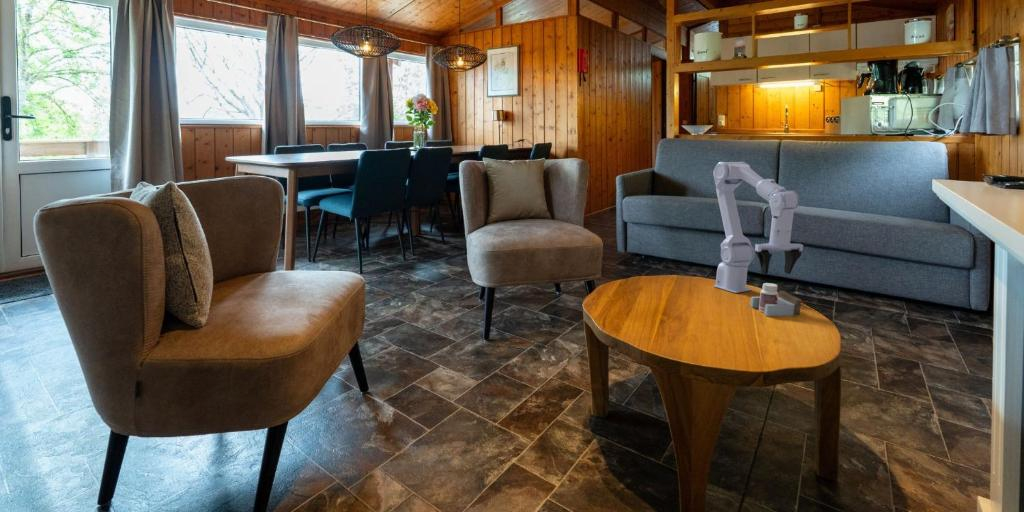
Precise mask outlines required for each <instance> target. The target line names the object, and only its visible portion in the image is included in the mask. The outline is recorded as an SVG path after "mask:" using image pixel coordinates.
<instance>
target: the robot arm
mask: <svg viewBox="0 0 1024 512" xmlns="http://www.w3.org/2000/svg"><path fill="white" fill-rule="evenodd" d="M712 174H713V179H714V185H715V192H716V196H717V201H718V206H719V210H720V216H721V219H722V221H721V222H722V224H723V231H724V233H725V239H723V241H722V242H721V243H720V258H721V262H719V264H718V266H717V269H716V277H715V278H716V279H715V284H714V285H713V287H715V288H718V289H721V290H724V291H727V292H731V293H734V294H737V293H743V292H748V291H752V288H751V287H750V288H749V287H747V278H748V277H747V276H748V268H749V266H750V265H751V262H752V261H754V258H755V254H756V256H757V258H758V261H759V264H760V269H761V270H760V271H761V274H763V275H768V273H769V267H770V266H769V265H770V262H771V258H772V256H773V254H772V253H770V252H777V251H778V252H780V251H781V252H782V251H783V252H784V259H785V261H784V273H785V274H788V275H791V273H792V271H793V268H794V266H795V264H796V262H797V261H798V259H799V258H800V257H801V256H802V252H803V251H804V245H803V244H801V243H791V236H792V229H793V220H794V212H795V210H796V209H797V208H798V207H799V204H800V196H799V194H798V193H797V192H796V190H787V189H786V188H785V187H784V186H781V185H780V184H779V183H776V180H775V179H774V178H763V177H762V176H761V175H759V174H758V173H757V172H755V170H753V169H752V168H751V166H750V164H747V163H746V161H745V162H744V161H727V162H726V161H719V162H718V163H717V164H716V165H715V167H714V169H713V172H712ZM742 182H745V183H747V184H749V185H751V186H752V187H754V188H755V191H756V194H757V195H758V196H759V197H761V198H763V199H764V200H765V201H767V202H768V204H769V207H770V209H771V212H770V214H771V224H770V225H771V226H770V232H769V233H770V234H769V241H768V242H766V243H759V244H758V243H756V244H755V245H754V246H755V247H753V246H752V244H751V240H750V239H749V238H748V237H746V236H745V235H744V233H743V229H742V226H741V220H740V219H741V218H740V216H739V211H738V210H739V209H738V207H737V206H738V205H737V201H736V197H735V189H736V188H738V187H739V186H740V185H741V184H742Z"/></svg>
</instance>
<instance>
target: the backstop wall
mask: <svg viewBox="0 0 1024 512" xmlns="http://www.w3.org/2000/svg"><path fill="white" fill-rule="evenodd" d="M778 297H780V298H782V299H784V300H786V301H788V302H790V303H792V304H794V305H795V309H794V315H793V316H794V317H798V316H797V315H801V310H802V309H801V307H802V301H803V300H802V298H799V297H797V296H795V295H793V294H790V293H788V292H786V291H784V290H782V291H781V290H779V291H778Z"/></svg>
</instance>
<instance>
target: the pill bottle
mask: <svg viewBox="0 0 1024 512" xmlns="http://www.w3.org/2000/svg"><path fill="white" fill-rule="evenodd" d="M761 288H762V289H761V290H760V295H759V297H760V303H759V308H758V311H759V312H761V313H763V314H764V311H765V304H777V299H778V293H779V291H778V284H776V283H772V282H771V283H769V282H765V283H763V284H762V287H761Z"/></svg>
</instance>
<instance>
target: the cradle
mask: <svg viewBox="0 0 1024 512" xmlns="http://www.w3.org/2000/svg"><path fill="white" fill-rule="evenodd" d="M759 303H760V296H751V298H750V305H749V306H750V307H749V308H751V309H759ZM794 309H795V305H794V304H792V303H790V302H788V301H786V300H784V299H782V298H780V297H778V299H777V304H765V311H764V313H763V315H764V316H765V317H777V316H780V317H785V316H794Z"/></svg>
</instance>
